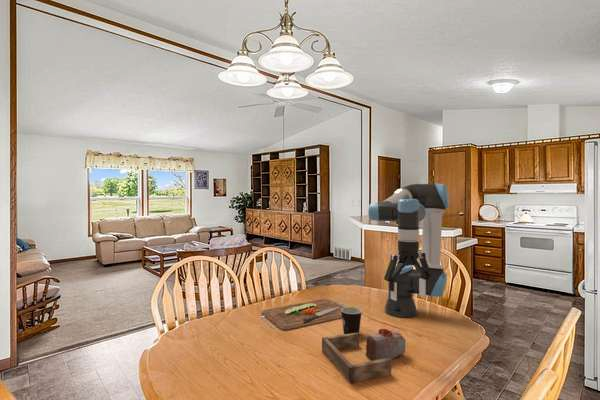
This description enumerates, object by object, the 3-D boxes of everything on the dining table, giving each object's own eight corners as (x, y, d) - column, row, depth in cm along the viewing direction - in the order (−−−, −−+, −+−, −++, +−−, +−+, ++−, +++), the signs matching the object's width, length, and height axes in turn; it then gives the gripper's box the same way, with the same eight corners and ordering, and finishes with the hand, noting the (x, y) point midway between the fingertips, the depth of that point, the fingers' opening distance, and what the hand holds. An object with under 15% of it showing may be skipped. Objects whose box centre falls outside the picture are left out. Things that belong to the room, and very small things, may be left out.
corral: (357, 344, 133) (357, 332, 133) (391, 374, 111) (391, 359, 111) (322, 351, 128) (322, 338, 128) (350, 383, 106) (350, 367, 106)
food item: (392, 347, 131) (392, 322, 130) (407, 356, 123) (407, 330, 123) (363, 355, 124) (363, 329, 124) (378, 365, 117) (378, 337, 117)
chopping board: (330, 299, 190) (330, 294, 190) (361, 315, 166) (361, 308, 166) (255, 314, 168) (255, 308, 168) (277, 334, 145) (277, 327, 145)
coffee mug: (361, 338, 138) (361, 314, 138) (340, 337, 140) (340, 313, 140) (362, 327, 150) (362, 305, 150) (342, 326, 152) (342, 304, 151)
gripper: (428, 237, 134) (428, 291, 134) (374, 240, 126) (374, 298, 126) (441, 239, 126) (441, 297, 127) (385, 243, 119) (385, 304, 119)
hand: (408, 297), depth 127 cm, fingers open, 12 cm apart
